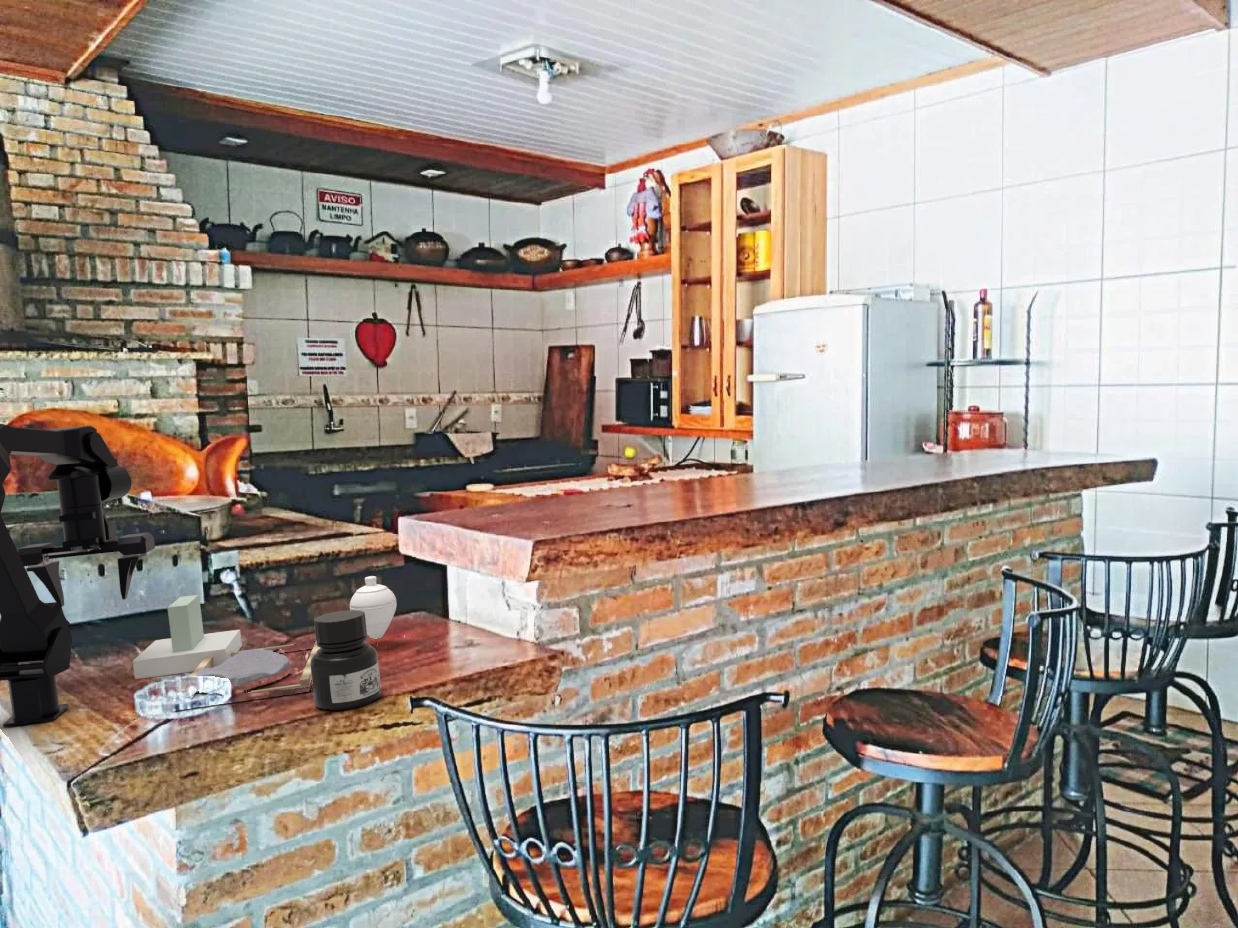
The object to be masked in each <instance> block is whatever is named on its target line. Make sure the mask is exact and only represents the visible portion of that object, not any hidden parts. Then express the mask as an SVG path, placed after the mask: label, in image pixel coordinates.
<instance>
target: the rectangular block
mask: <svg viewBox="0 0 1238 928" xmlns="http://www.w3.org/2000/svg"><path fill="white" fill-rule="evenodd" d="M200 601H201V600H200V595H199V594H196V595H194V594H193V595H187V596H186V595H183V596H180V597H178V598H177V599H176V600H175V601H174V602H173V603H171V604H169V606H168V607H167V614H168V615H167V616H168V622H169V623H168V624H169V632H170V638H171V641H172V649H173V652H180V651H187V650H193V649H194V648H195V646H196V645H197V644H198V643H199V642H200V641H201V640H202V639H203V638H204V634H205V633H204V625H203V617H202V609H201V602H200Z"/></svg>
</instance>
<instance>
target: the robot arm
mask: <svg viewBox="0 0 1238 928" xmlns="http://www.w3.org/2000/svg"><path fill="white" fill-rule="evenodd" d="M10 455H14V456H15V455H17V456H34V457H39V458H40V459H41V460H42V461H43V462H46V463H50V464H53V465H56V466H55V469H54V470H52V472H50V474H49V475H48V480H49V481H56V483H57V491H58V501H59V508H60V514H61V515H59V516H58V520H59V523H62V531H63V539H64V541H62V542H61V543H62V545H60V546H56V545H55V543H54V542H46V543H35V544H29V545H26V546H22V547H19V548H18V549H17V548H16V545H15V543H14V541H13V539H12V537H11V535H10V533H9V530H8V528H7V526H6V523H5V521H4V519H3V517H2V509H3V506H4V502H5V499H6V496H7V495H6V490H5V487H4V482H5V481H6V479H7V478H8V476H9V474H10V473H11V472H12V464H11V463H12V462H11V457H10ZM132 480H133V479H132V476H130V474H129V472H128V471H127V470H126V469H125V468H124V467H122V466H120V465H118V459H117V458H115V457H114V456H113V454H112V452H111V451H110V448H109V447H108V445H107V444H106V442H105V440H104V438H103V437H102V435H101V434H100V433H99V432H98V429H97V428H96V427H94V426H92V425H82V426H81V425H79V426H71V427H70V426H69V427H59V428H58V427H57V428H49V429H42V428H34V427H33V428H32V427H22V426H13V425H12V426H11V425H8V424H5V423H0V681H2V682H3V681H7V683H8V690H9V691H8V692H9V698H10V706H11V713H12V716H11V717H10V718H8V719H7V720H6V721H4V723H2V725H3V726H2V727H3V728H7V727H15V726H16V727H17V726H21V725H28V724H35V723H44V722H49V721H51V722H52V721H54V720H56V719H57V718H58V717H60V715H61V714H62V713H63V712H65V711H66V710H67V709H68V708H69V706H70V705H69V703H63V704H62V703H61V704H60V703H59V702H60V701H59V693H58V686H57V678H56V676H57V675H59V674H60V673H61V674H62V673H64V672H65V671H67V670H69V669H70V667H71V657H72V656H71V655H72V643H73V635H72V632H71V630H70V628H69V626H70V622H69V621H68V619H67V618H66V616H65V614H64V610H63V608H62V607H64V606H65V598H64V595H65V594H64V590H63V585H62V581H61V577H60V572H59V571H60V560H54V559H60V558H62V559H63V558H70V557H79V556H89V555H98V554H108V553H117V552H118V553H120V554H121V555H122V556H120V557H118V558H117V567H118V568H117V569H118V578H119V579H118V582H119V589H120V590H119V591H120V595H121V600H123V601H124V600H126V599H127V598H128V595H129V591H130V586H131V583H132V578H133V574H134V571H135V568H136V566H137V565H138V564H137V563H138V561H139V560H140V559H141V558H144V557H145V556H147V553H149V552H151V551H153V550H155V549H156V545H155V538H154V535H153V534H151V533H150V532H141V533H130V534H126V535H122V536H120V537H119V538H118V539H117V525H116V523H114V522H113V521H112V520H111V519H108V518H107V516H106V511H105V508H103V504H102V502H106V501H112V500H115V499H116V500H117V499H120V498H124V497H126V495H127V494H128V493H129V492H130V490H131V487H132V484H133V483H132V482H133V481H132ZM77 547H81V548H80V549H74V548H77ZM28 572H33V573H34V575H35V576H36V577H37V578H38V579H39V581H40V582H41V583H42V584H43V585H44V587H45V588H46V590H47V591H48V592H49V594H50V595H51V597H52V598H53V600H54V601H55V602H53V601H52V602H44V601H42V600H41V599H40V597H39V595H38V593H37V591H36V589H35V587H34V584H33V582H32V580H31V578H30V576H29V574H28Z"/></svg>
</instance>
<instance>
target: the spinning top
mask: <svg viewBox="0 0 1238 928" xmlns="http://www.w3.org/2000/svg"><path fill="white" fill-rule="evenodd" d="M364 583H365V585H363V586H361V587H360V588H358V589H356V590H355V592H354V594H353V595H352V597H351V599H350V601H349V610H360V611H364V613H365V619H366V629H367V637H369V638H373V639H378V638H381V637H383V636H384V634H385V633H386V631H387V630H388V628H389V627H390V624H391V623H392V622H391V621H392V620H393V618H394V616H395V613H396V610H397V597H396V595H395V594H394V592H393V591H392V590H391V589H389V587H388V586H386V585H383V584H379V583H377V576H374V575H370V576H366V577H365V578H364ZM373 639H372V640H373ZM381 639H382V638H381Z"/></svg>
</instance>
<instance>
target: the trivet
mask: <svg viewBox="0 0 1238 928" xmlns="http://www.w3.org/2000/svg"><path fill="white" fill-rule="evenodd" d="M242 646H243V642H242V635H241V629H235V630H234V629H233V630H227V631H217V632H210V633H204V638H203V639H202V640H201V641H200V642H199V643H198V644H197V645H196V646H195V648H194V649H193V650H187V651H180V652H173V649H172V641H171V637H170V638H164V639H163V638H162V639H155V640H154V641H153V642H152V643H151V644H150V645H148V647H146V648H145V649H144V650H143V651H142V652H141V653H140V654H139V655H138V656H137V657H135V658H134V659H133V660H132V667H133V675H134V680H140V679H146V678H147V679H149V678H154V677H163V676H168V675H169V676H170V675H178V674H185V673H191V672H192V673H193V672H194V670H195V669H196V668H197V667H198V666H199V664H200V663H201V662H202V661H203V660H204V658H207V657H213V662H214V667H216V666H219V665H221V664H222V663H223V662H225V661H226V660H227V659H228V658H230V657H232V656H231V653H232V652H236V651H241V650H240V649H241V648H242Z"/></svg>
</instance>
